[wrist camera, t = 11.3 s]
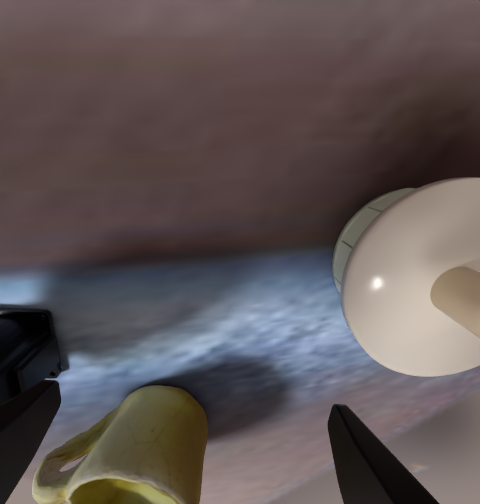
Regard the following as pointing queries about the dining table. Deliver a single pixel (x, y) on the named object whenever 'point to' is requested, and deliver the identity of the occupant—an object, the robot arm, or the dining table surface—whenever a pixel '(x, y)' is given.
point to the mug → (132, 454)
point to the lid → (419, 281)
